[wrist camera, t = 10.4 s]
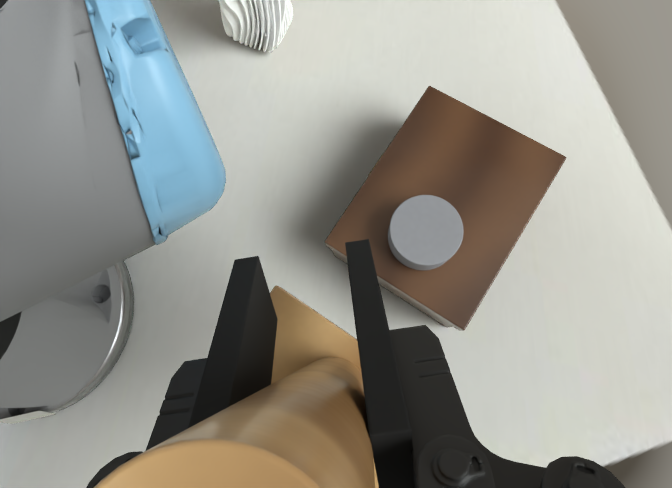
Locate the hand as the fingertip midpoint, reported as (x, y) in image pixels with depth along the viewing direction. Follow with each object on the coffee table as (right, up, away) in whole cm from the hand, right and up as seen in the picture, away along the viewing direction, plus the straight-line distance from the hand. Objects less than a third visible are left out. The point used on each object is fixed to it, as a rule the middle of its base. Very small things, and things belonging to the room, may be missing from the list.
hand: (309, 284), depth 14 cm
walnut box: (+8, +3, +19) cm, 21 cm away
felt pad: (+6, +2, +13) cm, 15 cm away
